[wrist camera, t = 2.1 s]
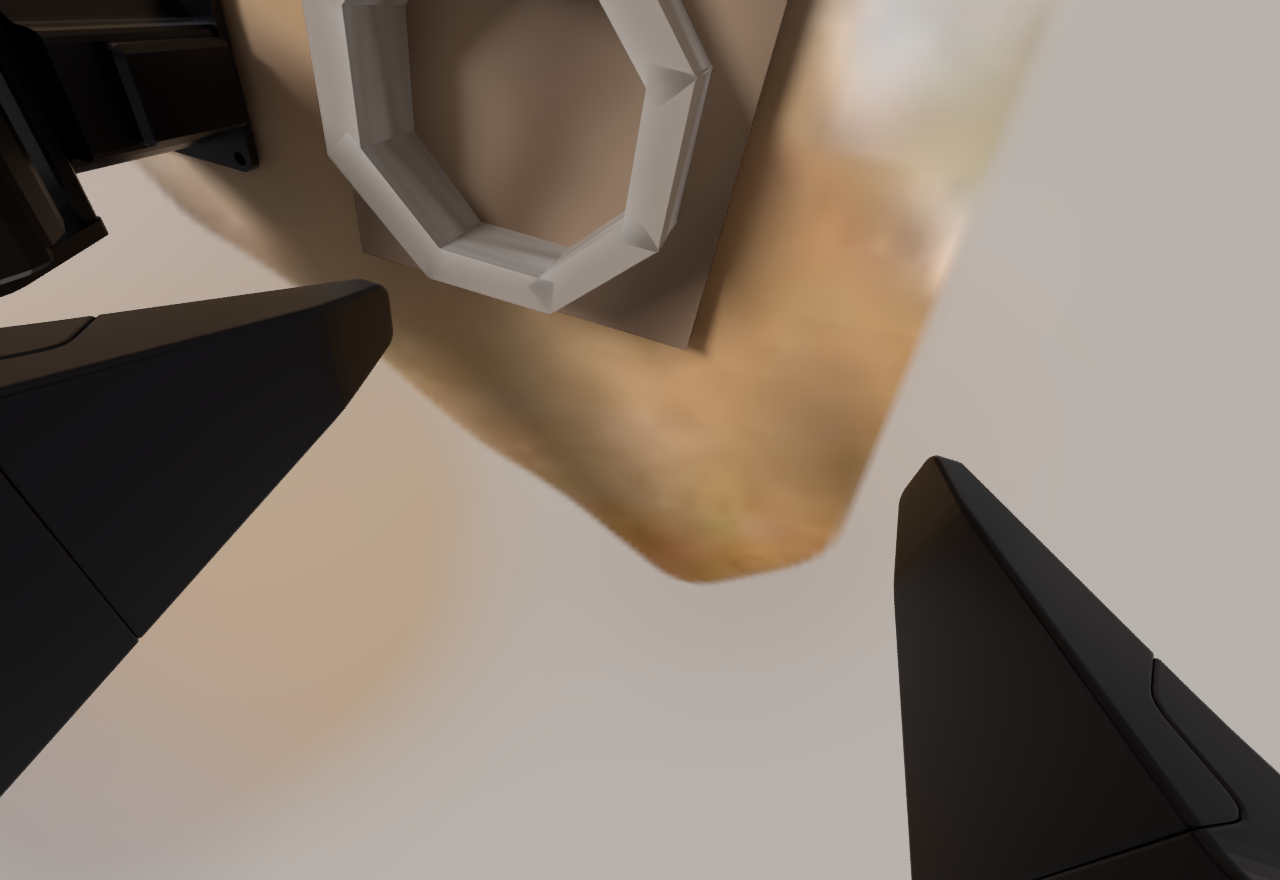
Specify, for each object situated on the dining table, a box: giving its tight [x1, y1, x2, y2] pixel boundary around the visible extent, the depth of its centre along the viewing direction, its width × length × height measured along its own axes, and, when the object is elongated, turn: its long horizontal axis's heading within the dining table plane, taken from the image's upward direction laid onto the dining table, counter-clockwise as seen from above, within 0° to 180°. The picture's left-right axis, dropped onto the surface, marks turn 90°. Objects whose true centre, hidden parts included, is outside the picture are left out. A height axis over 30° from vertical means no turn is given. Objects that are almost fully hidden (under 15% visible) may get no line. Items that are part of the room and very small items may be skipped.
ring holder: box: [302, 0, 789, 350], centre depth 17 cm, size 14×14×4 cm
